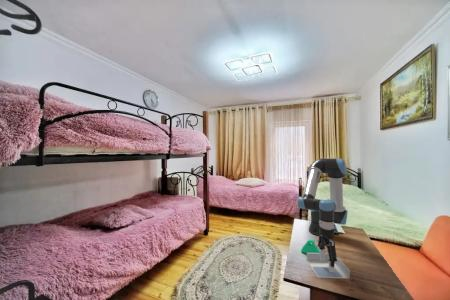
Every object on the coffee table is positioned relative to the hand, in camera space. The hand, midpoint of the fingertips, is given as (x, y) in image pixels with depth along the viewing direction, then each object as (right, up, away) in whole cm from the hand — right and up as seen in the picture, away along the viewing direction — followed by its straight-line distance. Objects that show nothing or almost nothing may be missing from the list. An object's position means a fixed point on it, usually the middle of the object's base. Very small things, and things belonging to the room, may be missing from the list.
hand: (326, 265), depth 112 cm
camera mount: (+1, -4, +21) cm, 21 cm away
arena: (+1, -4, +3) cm, 5 cm away
